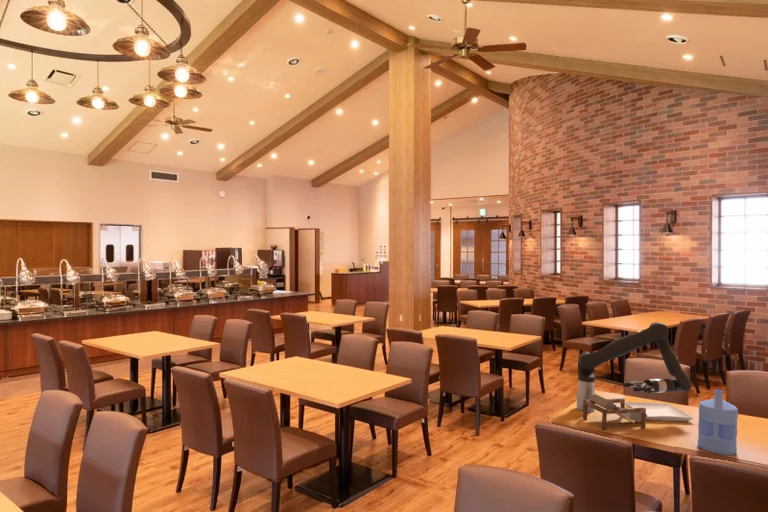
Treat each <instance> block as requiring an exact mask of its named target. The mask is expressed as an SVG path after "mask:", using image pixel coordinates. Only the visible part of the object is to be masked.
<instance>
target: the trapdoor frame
mask: <svg viewBox="0 0 768 512" xmlns="http://www.w3.org/2000/svg"><path fill="white" fill-rule="evenodd" d="M606 399H607V400H609V401H610V402H612V403H613V404H620V406H617V405H616V407H615V409H605V408H603V407H601V406H599V405H597V404H596V403H594V402H593V401H591V400H584V405H583V411H582V412H583V414H582V419H583V420H584V421H585V420H588V412H587V407H588V406H589V407H591V408H593V409H594V411H598V412H599V413H602V414H601V418H602V419H601V430H602V431H607V421H608V420H607V419H608V415H614V414H615V415H617V414H619V413H623V414H624V413H641V422H640V428H641V427H642V428H641V429H646V421H647V419H646V408H628V407H627V408H626V407H625V406H626V405H625V402H626V399H625V398H623V397H621V398H606ZM620 418H622V417H620ZM622 419H623V418H622Z"/></svg>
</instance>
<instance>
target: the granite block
mask: <svg viewBox="0 0 768 512" xmlns="http://www.w3.org/2000/svg"><path fill="white" fill-rule="evenodd" d="M625 408H628V407H627V406H626V407H625ZM624 414H625V415H626V416H627V417H629V418H630V419H632V420H633V421H635V422H637V423H641V413H624ZM646 418H647V414H646Z"/></svg>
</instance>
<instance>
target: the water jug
mask: <svg viewBox="0 0 768 512" xmlns="http://www.w3.org/2000/svg"><path fill="white" fill-rule="evenodd" d="M714 391H715V392H714V398H711V399H710V398H709V399H707V400H702V401H699V404H698V405H699V406H698V424H697V425H698V426H697V428H698V434H697V435H698V437H697V446H698V447H699V448H700V449H701V448H702V449H701V450H704V451H705V450H706V451H705V452H707V453H711V452H712V454H715V453H716V455H723V456H730V455H732V456H733V455H735V454H737V451H738V449H737V448H738V447H737V445H738V444H737V441H738V440H737V438H738V437H737V436H738V418H739V412H738V410H739V409H738V407H736V406H735V405H734V404H731V403H729V402H728V401H726V400H724V399H723V392H724V391H723V390H721V389H715V390H714Z"/></svg>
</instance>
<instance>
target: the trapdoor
mask: <svg viewBox="0 0 768 512" xmlns="http://www.w3.org/2000/svg"><path fill="white" fill-rule="evenodd" d="M607 399H608V398H604V397H603V396H600V395H598V394H596V393H595V394H594V395H593V396H592V398H591V401H593V402H594V403H596V405H598V406H600V407H602V408H604V409H615V407H617V405H616V403H612V402H610V401H609V400H607ZM616 415H617V416H619V417H620V418H621V417H622V419H624V420H627V421H629V422H631V423H633V424H635V423H636V421H635V420H632V419H630V418H629V417H627V416H626V415H625V414H623V413H619V414H616Z"/></svg>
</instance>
